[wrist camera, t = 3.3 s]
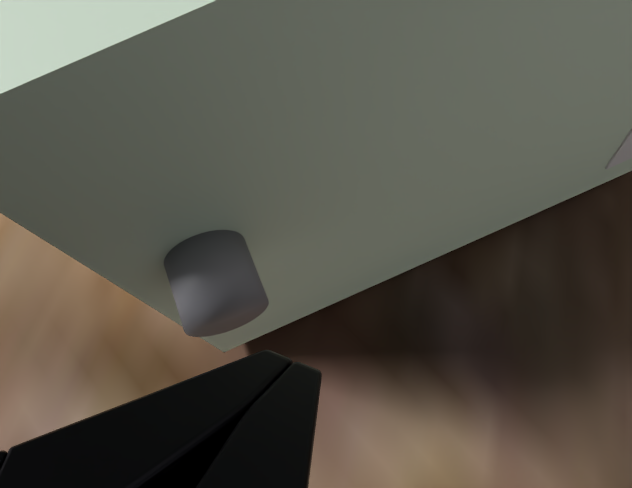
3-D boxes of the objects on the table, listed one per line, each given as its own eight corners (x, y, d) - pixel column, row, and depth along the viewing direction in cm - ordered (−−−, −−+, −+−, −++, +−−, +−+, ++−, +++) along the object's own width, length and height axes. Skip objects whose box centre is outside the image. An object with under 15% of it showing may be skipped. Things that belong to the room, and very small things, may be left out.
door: (674, 200, 14) (1208, -322, 5) (238, 395, 14) (-104, 252, 4) (610, 121, 15) (939, -427, 6) (206, 300, 15) (-121, 28, 6)
